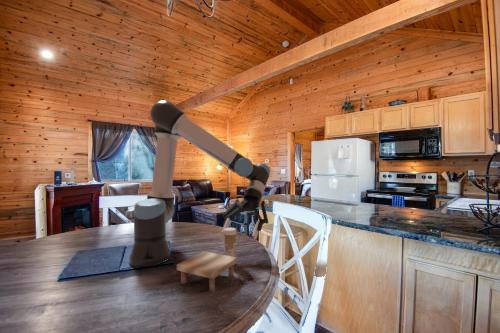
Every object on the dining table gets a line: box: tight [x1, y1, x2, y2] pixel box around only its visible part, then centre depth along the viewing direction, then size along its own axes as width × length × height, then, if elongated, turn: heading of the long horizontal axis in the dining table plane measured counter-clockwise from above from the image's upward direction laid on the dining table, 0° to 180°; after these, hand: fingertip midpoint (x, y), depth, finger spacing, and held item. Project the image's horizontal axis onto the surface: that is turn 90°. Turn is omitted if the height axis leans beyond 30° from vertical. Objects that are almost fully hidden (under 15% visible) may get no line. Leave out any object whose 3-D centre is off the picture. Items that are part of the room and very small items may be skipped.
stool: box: [176, 250, 238, 293], centre depth 82 cm, size 14×14×6 cm
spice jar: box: [223, 227, 237, 267], centre depth 94 cm, size 5×5×14 cm
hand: (238, 235), depth 98 cm, fingers open, 13 cm apart
